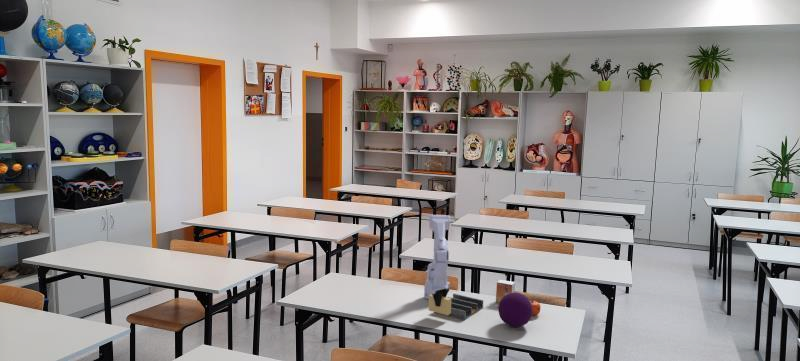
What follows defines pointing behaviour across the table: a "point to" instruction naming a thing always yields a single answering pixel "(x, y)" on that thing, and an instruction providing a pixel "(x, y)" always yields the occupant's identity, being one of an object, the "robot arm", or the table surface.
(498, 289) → the small box
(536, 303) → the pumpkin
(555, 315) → the table surface
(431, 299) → the tan rectangular block
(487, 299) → the table surface
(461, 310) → the rack
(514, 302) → the toy ball
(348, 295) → the table surface
